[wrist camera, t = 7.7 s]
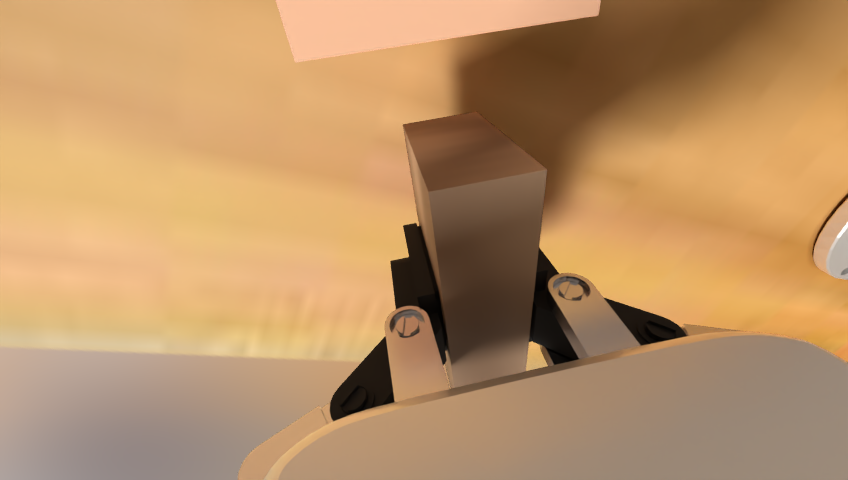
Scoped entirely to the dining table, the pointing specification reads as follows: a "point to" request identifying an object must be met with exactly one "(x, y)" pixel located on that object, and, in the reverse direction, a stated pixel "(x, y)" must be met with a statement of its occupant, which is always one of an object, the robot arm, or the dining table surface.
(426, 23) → the tile
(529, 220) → the brown rectangular pillar
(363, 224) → the dining table surface
